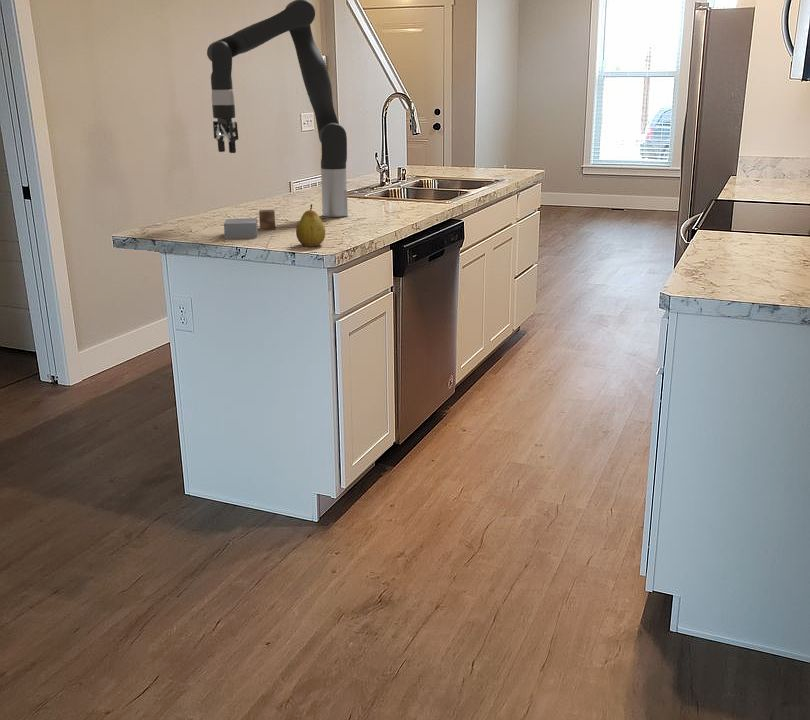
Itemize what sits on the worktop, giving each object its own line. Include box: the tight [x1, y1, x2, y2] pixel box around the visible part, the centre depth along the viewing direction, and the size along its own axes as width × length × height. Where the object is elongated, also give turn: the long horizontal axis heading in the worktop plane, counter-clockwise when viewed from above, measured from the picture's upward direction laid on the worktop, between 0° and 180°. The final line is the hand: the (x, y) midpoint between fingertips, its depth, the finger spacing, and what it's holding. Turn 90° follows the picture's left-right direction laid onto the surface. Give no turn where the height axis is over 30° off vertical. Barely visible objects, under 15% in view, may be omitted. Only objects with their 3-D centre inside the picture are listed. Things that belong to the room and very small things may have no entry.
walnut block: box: [258, 209, 276, 231], centre depth 283 cm, size 5×5×6 cm
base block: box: [223, 217, 259, 239], centre depth 270 cm, size 10×10×5 cm
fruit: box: [295, 203, 327, 247], centre depth 252 cm, size 9×9×12 cm
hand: (227, 152), depth 292 cm, fingers open, 8 cm apart
